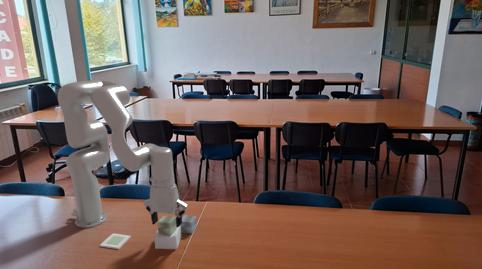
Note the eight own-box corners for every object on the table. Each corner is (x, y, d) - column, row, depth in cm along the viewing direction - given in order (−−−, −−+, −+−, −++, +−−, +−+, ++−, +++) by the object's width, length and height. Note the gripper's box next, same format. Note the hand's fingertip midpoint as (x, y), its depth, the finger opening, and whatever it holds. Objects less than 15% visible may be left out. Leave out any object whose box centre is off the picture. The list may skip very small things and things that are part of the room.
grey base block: (155, 249, 121) (154, 237, 119) (160, 236, 128) (159, 225, 127) (177, 249, 120) (176, 237, 119) (181, 236, 128) (180, 225, 127)
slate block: (180, 232, 131) (179, 221, 130) (185, 225, 136) (184, 214, 134) (192, 233, 130) (191, 222, 128) (196, 227, 134) (196, 216, 133)
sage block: (158, 234, 121) (157, 222, 120) (164, 227, 126) (163, 215, 124) (170, 236, 120) (169, 223, 119) (176, 228, 125) (175, 217, 123)
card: (100, 246, 122) (99, 244, 122) (112, 234, 130) (112, 233, 130) (118, 249, 121) (118, 247, 120) (130, 237, 128) (130, 235, 128)
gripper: (136, 183, 116) (140, 226, 121) (181, 187, 112) (184, 232, 117) (147, 175, 123) (151, 216, 128) (190, 179, 119) (192, 221, 124)
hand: (167, 223), depth 122 cm, fingers open, 9 cm apart
